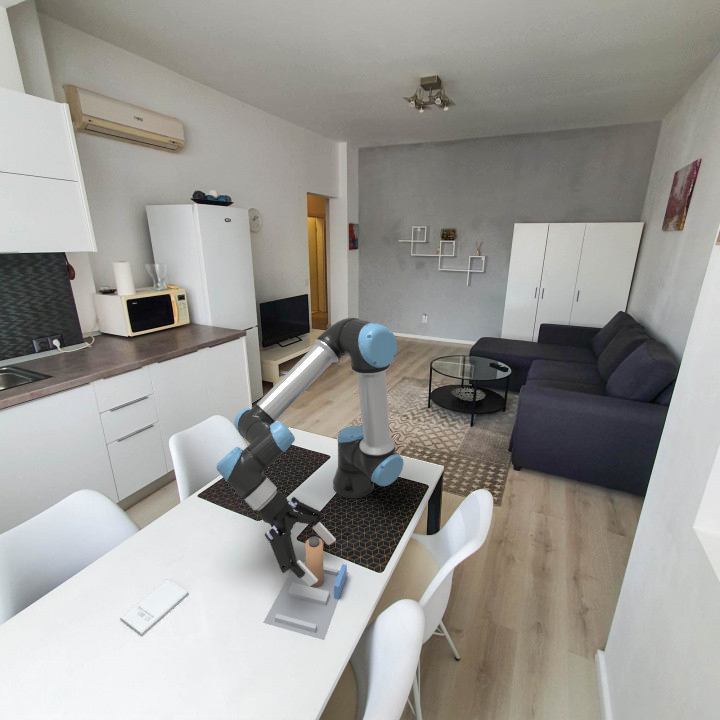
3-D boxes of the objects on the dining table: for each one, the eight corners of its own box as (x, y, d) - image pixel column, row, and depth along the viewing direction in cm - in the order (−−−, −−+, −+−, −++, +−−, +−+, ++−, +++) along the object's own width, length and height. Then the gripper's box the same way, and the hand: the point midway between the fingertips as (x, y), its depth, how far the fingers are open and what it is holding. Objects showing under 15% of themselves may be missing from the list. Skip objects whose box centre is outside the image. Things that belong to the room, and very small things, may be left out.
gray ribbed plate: (263, 626, 89) (262, 609, 87) (296, 563, 106) (296, 548, 105) (324, 643, 85) (323, 626, 84) (348, 576, 103) (348, 560, 101)
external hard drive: (189, 596, 97) (142, 638, 86) (168, 583, 100) (120, 621, 90) (188, 591, 96) (141, 632, 86) (167, 578, 100) (119, 616, 89)
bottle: (319, 571, 102) (318, 531, 99) (326, 583, 99) (325, 542, 95) (304, 578, 100) (302, 537, 97) (310, 590, 97) (309, 549, 93)
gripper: (280, 480, 109) (329, 533, 110) (230, 542, 86) (293, 609, 87) (296, 466, 107) (347, 522, 107) (249, 527, 83) (315, 597, 84)
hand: (323, 561), depth 97 cm, fingers open, 13 cm apart
